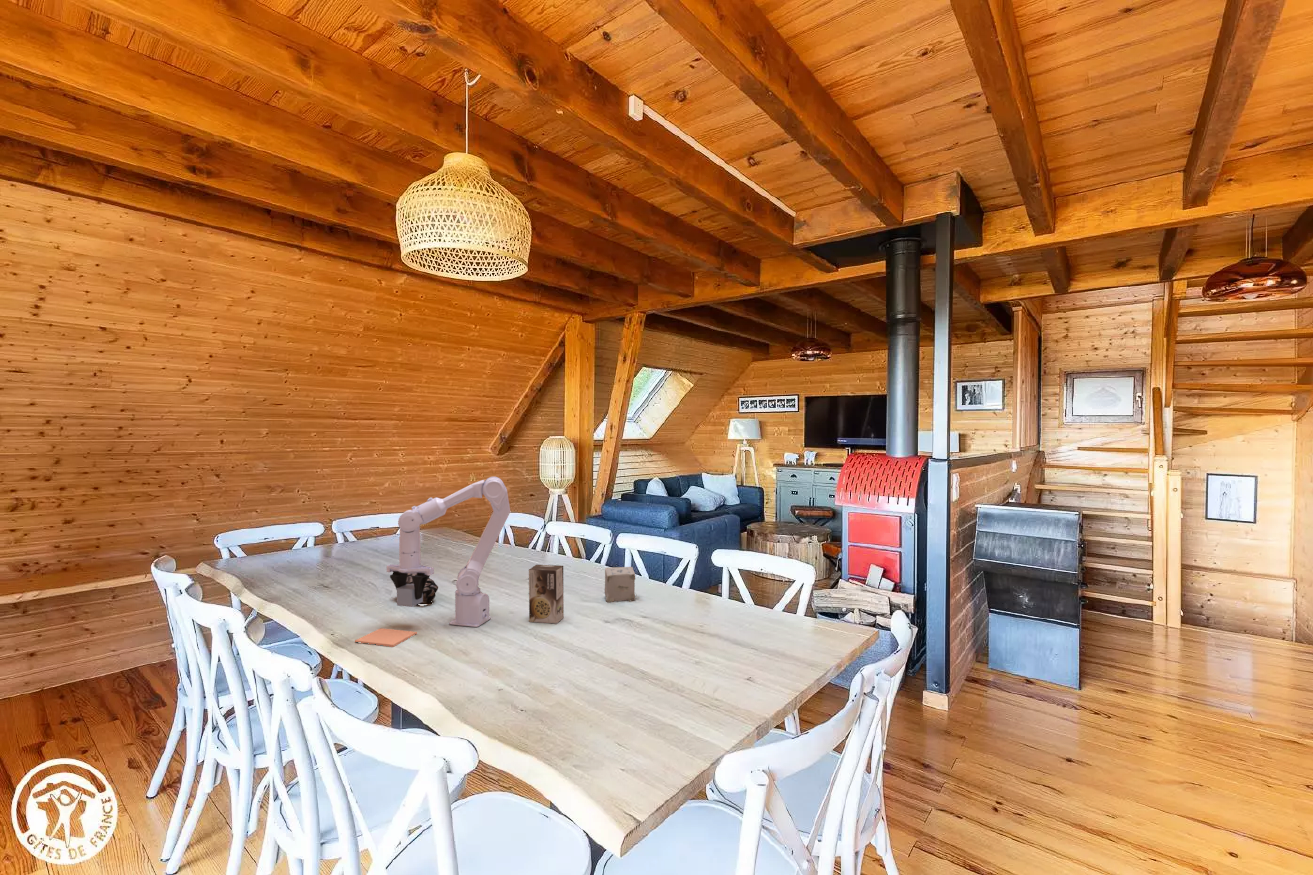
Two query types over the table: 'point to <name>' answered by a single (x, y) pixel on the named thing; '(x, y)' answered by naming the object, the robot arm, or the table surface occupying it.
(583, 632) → the table surface
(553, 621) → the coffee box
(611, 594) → the brown cardboard box
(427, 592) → the pine cone
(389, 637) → the terracotta tile
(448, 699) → the table surface
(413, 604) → the slate block
